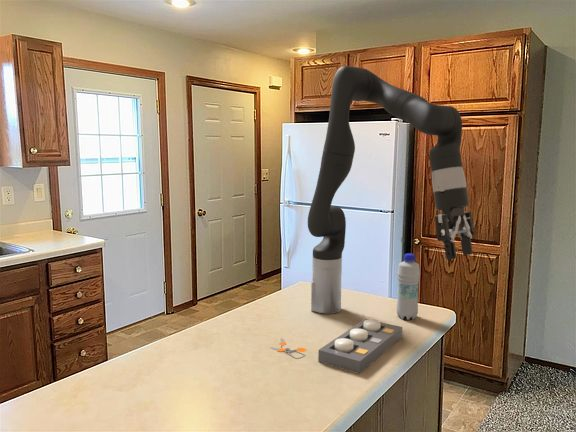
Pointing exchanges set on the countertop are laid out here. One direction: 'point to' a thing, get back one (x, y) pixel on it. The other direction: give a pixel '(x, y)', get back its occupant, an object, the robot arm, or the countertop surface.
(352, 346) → the button front
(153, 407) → the countertop surface
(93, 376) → the countertop surface
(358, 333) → the button middle
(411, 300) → the bottle
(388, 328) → the panel
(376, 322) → the button back
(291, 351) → the key chain
